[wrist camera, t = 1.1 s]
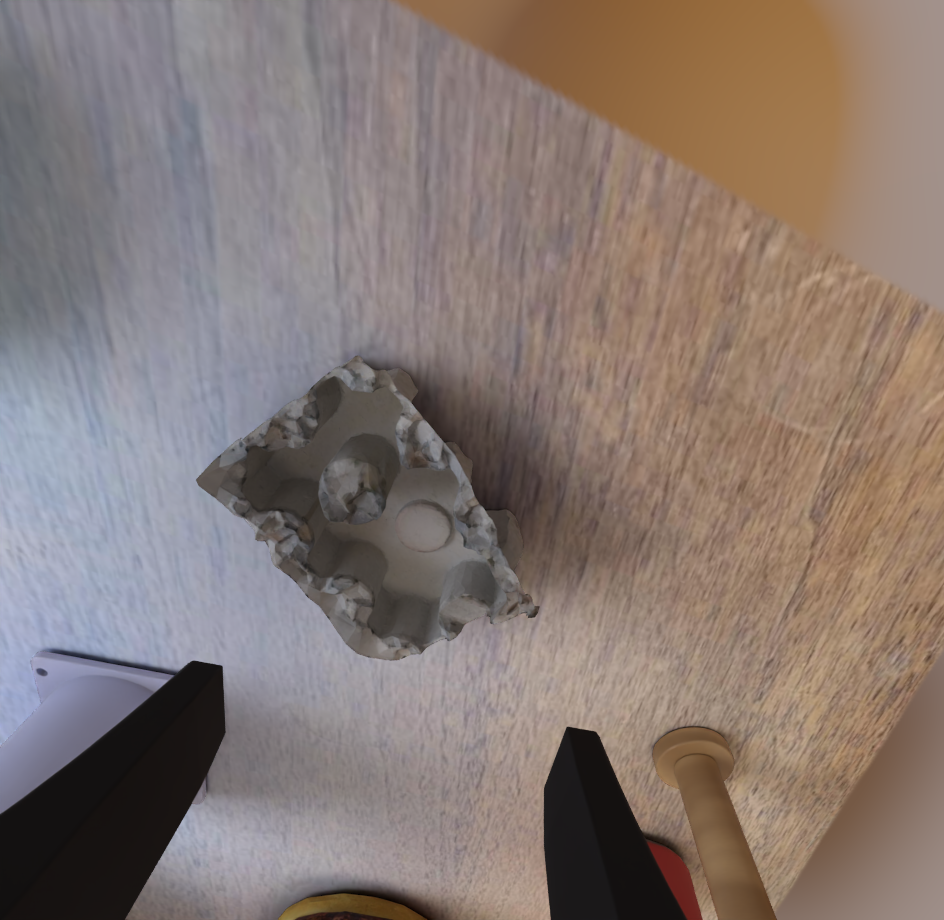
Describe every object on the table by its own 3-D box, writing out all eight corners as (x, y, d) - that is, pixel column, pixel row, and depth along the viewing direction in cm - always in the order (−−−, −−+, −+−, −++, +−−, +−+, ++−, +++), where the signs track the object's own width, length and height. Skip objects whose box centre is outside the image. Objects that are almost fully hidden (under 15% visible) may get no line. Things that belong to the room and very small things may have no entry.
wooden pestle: (711, 781, 26) (844, 1148, 16) (641, 768, 26) (729, 1128, 16) (740, 734, 25) (908, 1106, 14) (666, 720, 25) (781, 1084, 14)
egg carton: (545, 553, 21) (554, 625, 17) (395, 622, 23) (375, 700, 19) (394, 324, 17) (364, 353, 14) (232, 429, 20) (169, 480, 16)
